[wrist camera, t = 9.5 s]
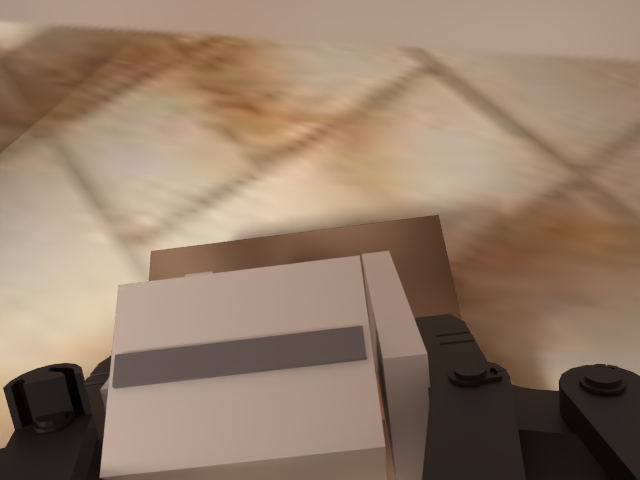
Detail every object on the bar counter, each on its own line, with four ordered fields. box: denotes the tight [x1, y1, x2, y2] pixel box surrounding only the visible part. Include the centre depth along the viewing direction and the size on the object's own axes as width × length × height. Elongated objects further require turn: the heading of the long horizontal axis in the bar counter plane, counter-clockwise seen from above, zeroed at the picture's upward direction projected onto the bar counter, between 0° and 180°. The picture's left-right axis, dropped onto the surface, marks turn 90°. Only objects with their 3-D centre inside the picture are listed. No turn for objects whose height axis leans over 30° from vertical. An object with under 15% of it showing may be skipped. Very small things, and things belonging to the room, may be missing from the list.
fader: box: [100, 255, 387, 480], centre depth 13 cm, size 4×3×9 cm
